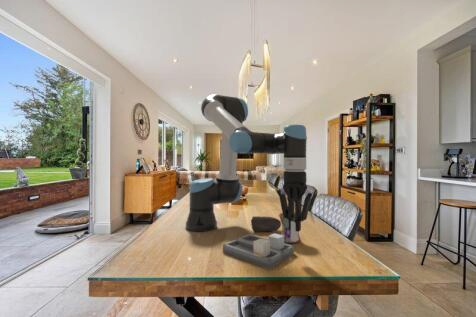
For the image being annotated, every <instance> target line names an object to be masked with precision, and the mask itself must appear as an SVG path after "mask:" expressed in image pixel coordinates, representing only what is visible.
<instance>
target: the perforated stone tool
mask: <svg viewBox="0 0 476 317" xmlns="http://www.w3.org/2000/svg"><path fill="white" fill-rule="evenodd" d="M250 221H251V223H250V225H251V230H252V231H253V232H259V233H263V232H273V231H277V230H279V229H280V228H281V227H282V223H281V220H279V219H278V218H275V217H272V216H259V215H258V216H256V215H255V216H252V218H251V219H250Z"/></svg>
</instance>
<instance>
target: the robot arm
mask: <svg viewBox="0 0 476 317" xmlns="http://www.w3.org/2000/svg"><path fill="white" fill-rule="evenodd" d="M200 111H201V113H202V116H203V117H204V118H205V119H206V120H207V121H208V122H212V123H213V124H214V125H215V126H216V127H217V128H218V129H219V131H221V140H220V141H221V142H220V143H221V145H220V155H219V156H220V157H219V172H218V174H217V175H216V177H215V180H214V178H210V177H209V178H199V179H195V180H193V181H191V182H190V185H189V191H188V192H189V212H188V215H187V219H186V221H185V229H186V230H188V231H191V232H206V231H207V232H208V231H213V230H215V229H216V228H217V227H218V221H217V219H216V214H215V211H214V208H215V207H214V205H219V204H230V203H236V202H238V201H239V200H240V199H241V197H242V194H243V186H242V184H243V183H242V182H241V181H240V179H239V177H238V175H237V165H238V161H237V160H238V153H239V154H265V155H279V154H280V155H281V154H283V170H284V171H283V184H282V187H281V188H280V189H277V190H276V193H277V196H278V198H279V202H280V207H281V213H283V217H284V218H287V219H288V221H289V230H291V241H294V242H295V241H297V240H298V232H299V233H300V232H301V230H302V222H303V221H306V220H307V219H308V214H309V210H310V207H311V201H312V199H313V197H314V196H315V193H314V192H313V191H310V190H309V189H308V186H307V172H306V170H307V139H308V137H307V128H306V126H305V125H303V124H287V125H286V126H284V127H283V132H279V133H270V132H256V131H252V130H251V129H249V128H248V127H246V126H245V125H244V124H243V123H244V122H246V120H247V118H248V116H249V108H248V104H247V102H246V101H245V100H244V99H243V98H239V97H237V96H235V97H234V96H230V95H229V96H227V95H220V94H211V95H209V96H207V97H206V98H205V99H203V101H202V103H201V107H200ZM303 196H304V197H305V198H304V200H303ZM302 201H303V206H302ZM294 213H295V217H294ZM294 219H295V220H294Z"/></svg>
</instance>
